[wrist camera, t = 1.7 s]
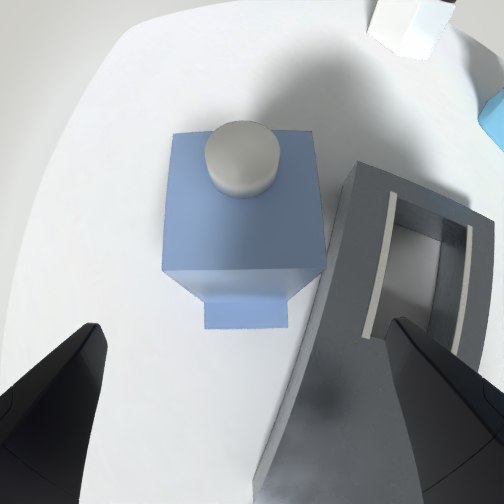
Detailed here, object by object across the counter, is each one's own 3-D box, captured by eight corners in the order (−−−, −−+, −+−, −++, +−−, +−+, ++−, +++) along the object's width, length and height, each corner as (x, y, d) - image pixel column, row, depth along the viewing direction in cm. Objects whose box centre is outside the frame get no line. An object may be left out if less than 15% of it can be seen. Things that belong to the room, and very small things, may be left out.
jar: (427, 71, 26) (469, -3, 15) (362, 41, 27) (390, -42, 16) (427, 38, 29) (458, -25, 17) (371, 13, 29) (394, -56, 18)
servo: (281, 328, 19) (341, 318, 7) (211, 329, 19) (149, 321, 7) (276, 220, 21) (311, 80, 9) (212, 221, 21) (172, 83, 9)
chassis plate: (401, 497, 16) (421, 516, 12) (252, 480, 17) (253, 505, 13) (469, 235, 21) (495, 221, 18) (343, 185, 22) (357, 160, 19)
